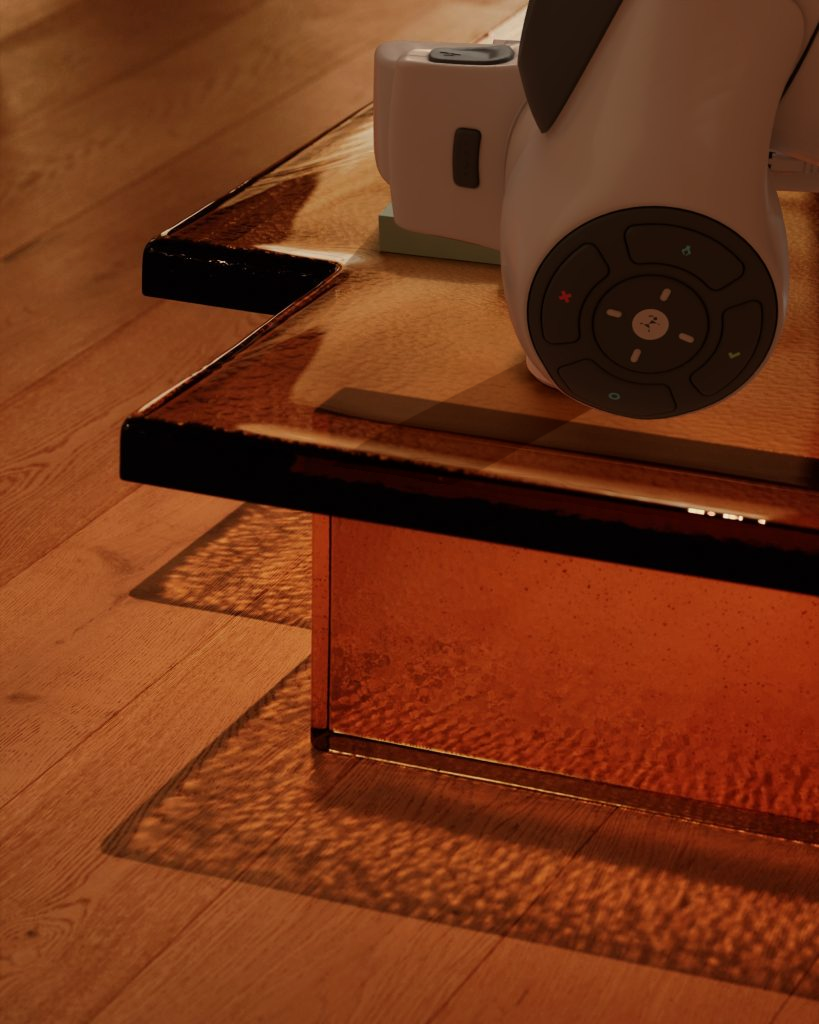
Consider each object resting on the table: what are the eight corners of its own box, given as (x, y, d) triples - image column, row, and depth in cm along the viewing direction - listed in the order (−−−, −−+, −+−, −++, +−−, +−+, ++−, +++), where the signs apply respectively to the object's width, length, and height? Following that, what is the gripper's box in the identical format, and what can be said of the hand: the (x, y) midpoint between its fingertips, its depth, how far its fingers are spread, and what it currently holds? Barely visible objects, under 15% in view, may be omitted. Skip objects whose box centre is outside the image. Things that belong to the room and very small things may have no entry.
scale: (617, 196, 113) (620, 151, 111) (573, 273, 102) (575, 224, 100) (440, 178, 116) (440, 134, 115) (378, 251, 105) (377, 203, 103)
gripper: (937, 79, 56) (870, -4, 68) (352, 57, 57) (388, -21, 69) (906, 251, 59) (847, 143, 71) (352, 226, 60) (387, 124, 72)
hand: (617, 62), depth 70 cm, fingers open, 8 cm apart
